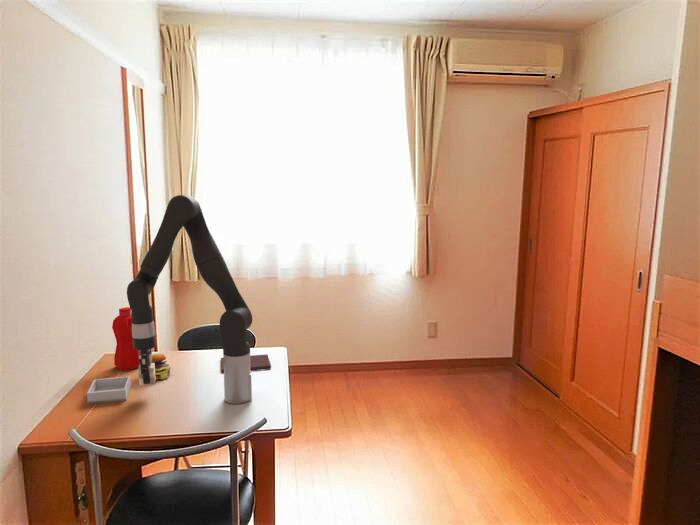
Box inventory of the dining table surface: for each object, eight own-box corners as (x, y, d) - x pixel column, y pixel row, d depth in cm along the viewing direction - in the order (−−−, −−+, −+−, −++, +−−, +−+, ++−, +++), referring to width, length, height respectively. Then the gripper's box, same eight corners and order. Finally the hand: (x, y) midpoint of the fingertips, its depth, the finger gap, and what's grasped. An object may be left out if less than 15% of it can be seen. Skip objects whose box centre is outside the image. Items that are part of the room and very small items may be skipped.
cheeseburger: (153, 383, 193) (148, 357, 193) (138, 383, 200) (133, 358, 200) (176, 375, 201) (171, 350, 201) (161, 374, 208) (156, 350, 208)
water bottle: (132, 360, 217) (128, 302, 213) (144, 366, 210) (141, 307, 206) (110, 366, 210) (106, 307, 206) (122, 372, 203) (118, 312, 199)
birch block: (155, 378, 185) (154, 362, 184) (154, 384, 180) (153, 367, 179) (141, 380, 183) (139, 364, 182) (139, 385, 179) (138, 369, 178)
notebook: (221, 361, 219) (220, 356, 219) (267, 357, 224) (267, 353, 224) (221, 374, 205) (221, 369, 204) (271, 370, 210) (270, 365, 209)
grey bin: (130, 386, 191) (130, 376, 190) (126, 400, 179) (125, 389, 178) (95, 389, 188) (94, 379, 187) (87, 404, 176) (86, 393, 175)
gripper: (153, 339, 173) (157, 387, 176) (156, 327, 186) (160, 372, 189) (129, 341, 171) (133, 389, 174) (134, 329, 184) (138, 374, 187)
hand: (147, 380), depth 181 cm, fingers closed on birch block, 5 cm apart
